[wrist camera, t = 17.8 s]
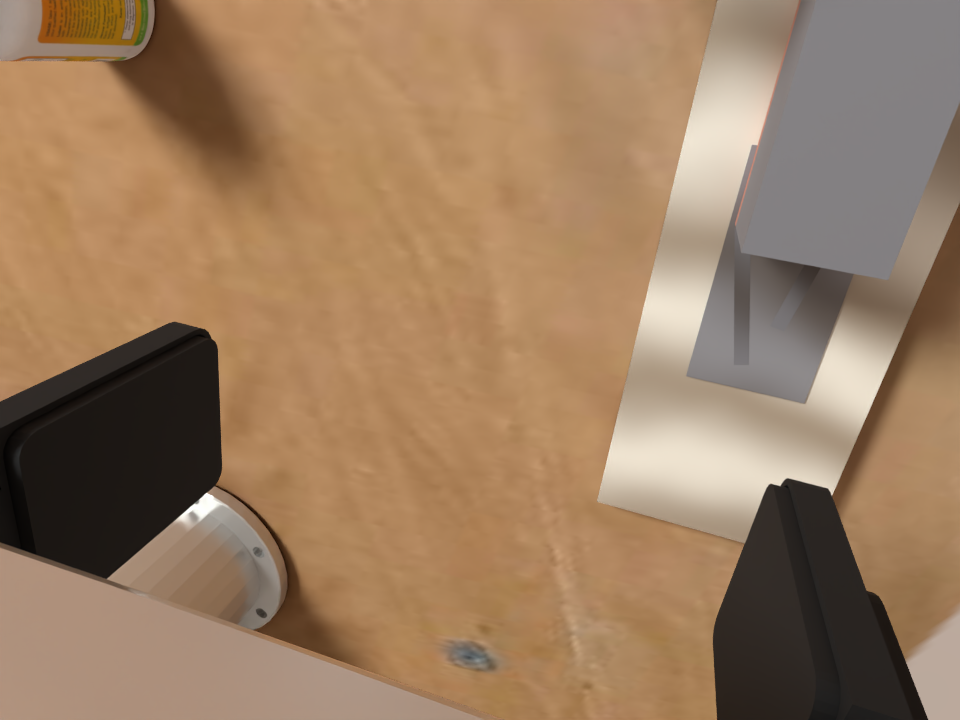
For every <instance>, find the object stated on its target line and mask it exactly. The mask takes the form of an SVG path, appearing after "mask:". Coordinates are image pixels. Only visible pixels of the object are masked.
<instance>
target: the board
mask: <svg viewBox="0 0 960 720" xmlns="http://www.w3.org/2000/svg"><path fill="white" fill-rule="evenodd" d="M798 3H799V0H718V1H717V5H716V9H715V13H714V17H713V21H712V26H711V30H710V34H709V38H708V42H707V46H706V50H705V55H704V59H703V63H702V67H701V71H700V75H699V80H698V84H697V88H696V92H695V96H694V100H693V105H692V109H691V113H690V117H689V121H688V125H687V130H686V134H685V138H684V142H683V146H682V150H681V154H680V159H679V163H678V167H677V171H676V175H675V179H674V184H673V188H672V192H671V196H670V200H669V204H668V209H667V213H666V217H665V221H664V225H663V229H662V234H661V238H660V242H659V246H658V250H657V254H656V258H655V263H654V267H653V271H652V275H651V279H650V283H649V288H648V292H647V296H646V300H645V304H644V308H643V313H642V317H641V321H640V325H639V329H638V333H637V337H636V342H635V346H634V350H633V354H632V358H631V362H630V367H629V371H628V375H627V379H626V383H625V387H624V392H623V396H622V400H621V404H620V408H619V412H618V417H617V421H616V425H615V429H614V433H613V437H612V441H611V446H610V450H609V454H608V458H607V462H606V466H605V471H604V475H603V479H602V483H601V487H600V491H599V496H598V500H597V502H600V503H604V504H607V505H611V506H614V507H618V508H621V509H625V510H628V511H632V512H636V513H639V514H643V515H646V516H650V517H653V518H657V519H660V520H664V521H667V522H671V523H675V524H678V525H682V526H685V527H689V528H692V529H696V530H699V531H703V532H706V533H710V534H714V535H717V536H721V537H724V538H728V539H731V540H735V541H738V542H742V543H745V542H746V539H747V537H748V534H749V532H750V529H751V526H752V524H753V521H754V518H755V516H756V513H757V511H758V508H759V505H760V503H761V500H762V498H763V495H764V492H765V490H766V488H767V487H768V485H769V484H774V485H778V486H781V484H782V483H783V481H784V480H785V479H787V478H789V479H793V480H797V481H801V482H805V483H809V484H813V485H817V486H821V487H825V488H828V489H829V491H830V492H831V495H833V492H834V490H835V488H836V486H837V483H838V481H839V479H840V476H841V474H842V472H843V470H844V467H845V465H846V463H847V460H848V458H849V456H850V453H851V451H852V449H853V447H854V444H855V442H856V440H857V437H858V435H859V433H860V430H861V428H862V426H863V424H864V421H865V419H866V417H867V414H868V412H869V410H870V408H871V405H872V403H873V401H874V398H875V396H876V394H877V391H878V389H879V387H880V385H881V382H882V380H883V378H884V375H885V373H886V371H887V369H888V366H889V364H890V362H891V359H892V357H893V355H894V352H895V350H896V348H897V346H898V343H899V341H900V339H901V336H902V334H903V332H904V329H905V327H906V325H907V323H908V320H909V318H910V316H911V313H912V311H913V309H914V307H915V304H916V302H917V300H918V297H919V295H920V293H921V290H922V288H923V286H924V284H925V281H926V279H927V277H928V274H929V272H930V270H931V268H932V265H933V263H934V261H935V258H936V256H937V254H938V251H939V249H940V247H941V245H942V242H943V240H944V238H945V235H946V233H947V231H948V228H949V226H950V224H951V222H952V219H953V217H954V215H955V212H956V210H957V208H958V206H959V203H960V103H959V105H958V108H957V110H956V113H955V115H954V118H953V120H952V123H951V125H950V128H949V130H948V133H947V135H946V138H945V140H944V143H943V145H942V148H941V150H940V153H939V155H938V158H937V160H936V163H935V165H934V168H933V170H932V173H931V175H930V178H929V180H928V183H927V185H926V187H925V190H924V192H923V195H922V197H921V200H920V202H919V205H918V207H917V210H916V212H915V215H914V217H913V220H912V222H911V225H910V227H909V230H908V232H907V235H906V237H905V240H904V242H903V245H902V247H901V250H900V252H899V255H898V257H897V260H896V262H895V265H894V267H893V270H892V272H891V274H890V277H889V279H888V280H884V279H879V278H873V277H868V276H863V275H858V274H852V273H847V272H842V271H836V270H831V269H826V268H820V267H815V266H810V265H804V264H799V263H794V262H788V261H783V260H778V259H773V258H767V257H762V256H757V255H751V254H746V253H741V249H740V244H739V240H738V235H737V231H736V226H735V222H736V218H737V215H738V211H739V208H740V204H741V201H742V197H743V194H744V190H745V187H746V183H747V180H748V177H749V173H750V170H751V166H752V163H753V159H754V156H755V152H756V149H757V145H758V142H759V138H760V135H761V131H762V128H763V124H764V121H765V117H766V114H767V110H768V107H769V104H770V100H771V97H772V93H773V90H774V86H775V83H776V79H777V76H778V72H779V69H780V65H781V62H782V58H783V55H784V51H785V48H786V44H787V41H788V37H789V34H790V30H791V27H792V24H793V20H794V17H795V13H796V10H797V6H798Z"/></svg>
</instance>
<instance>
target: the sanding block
mask: <svg viewBox="0 0 960 720" xmlns="http://www.w3.org/2000/svg"><path fill="white" fill-rule="evenodd" d="M959 103H960V0H799V3H798V6H797V10H796V13H795V17H794V20H793V24H792V27H791V30H790V34H789V37H788V41H787V44H786V48H785V51H784V55H783V58H782V62H781V65H780V69H779V72H778V76H777V79H776V83H775V86H774V90H773V93H772V97H771V100H770V104H769V107H768V110H767V114H766V117H765V121H764V124H763V128H762V131H761V135H760V138H759V142H758V145H757V149H756V152H755V156H754V159H753V163H752V166H751V170H750V173H749V177H748V180H747V183H746V187H745V190H744V194H743V197H742V201H741V204H740V208H739V211H738V215H737V218H736V222H735V226H736V231H737V235H738V240H739V244H740V249H741V253H746V254H751V255H757V256H762V257H767V258H773V259H778V260H783V261H788V262H794V263H799V264H804V265H810V266H815V267H820V268H826V269H831V270H836V271H842V272H847V273H852V274H858V275H863V276H868V277H873V278H879V279H884V280H888V279H889V277H890V274H891V272H892V270H893V267H894V265H895V262H896V260H897V257H898V255H899V252H900V250H901V247H902V245H903V242H904V240H905V237H906V235H907V232H908V230H909V227H910V225H911V222H912V220H913V217H914V215H915V212H916V210H917V207H918V205H919V202H920V200H921V197H922V195H923V192H924V190H925V187H926V185H927V183H928V180H929V178H930V175H931V173H932V170H933V168H934V165H935V163H936V160H937V158H938V155H939V153H940V150H941V148H942V145H943V143H944V140H945V138H946V135H947V133H948V130H949V128H950V125H951V123H952V120H953V118H954V115H955V113H956V110H957V108H958V105H959Z"/></svg>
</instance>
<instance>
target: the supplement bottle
mask: <svg viewBox="0 0 960 720" xmlns="http://www.w3.org/2000/svg"><path fill="white" fill-rule="evenodd" d="M154 17H155V8H154V0H0V61H122V60H127V59H130V58H133V57H135V56H136V55H138V54H139V53H140V52H141V51H142V50H143V49H144V48H145V46H146V45H147V43H148V41H149V39H150V37H151V34H152V30H153V26H154Z"/></svg>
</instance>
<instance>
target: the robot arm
mask: <svg viewBox="0 0 960 720" xmlns="http://www.w3.org/2000/svg"><path fill="white" fill-rule="evenodd" d="M221 471H222V454H221V427H220V399H219V371H218V349H217V345H216V342H215V341H214V340H212V339H211V336H210V334H209V332H207V331H206V330H205V329H201V328H197V327H193V326H190V325H186V324H182V323H177V322H172V323H168V324H166V325H164V326H162V327H160V328H158V329H156V330H153V331H151V332H149V333H147V334H145V335H143V336H140V337H138V338H136V339H134V340H132V341H130V342H128V343H125V344H123V345H121V346H119V347H117V348H115V349H113V350H110V351H108V352H106V353H104V354H102V355H100V356H97V357H95V358H93V359H91V360H89V361H87V362H85V363H82V364H80V365H78V366H76V367H74V368H72V369H69V370H67V371H65V372H63V373H61V374H59V375H57V376H54V377H52V378H50V379H48V380H46V381H44V382H42V383H39V384H37V385H35V386H33V387H31V388H29V389H26V390H24V391H22V392H20V393H18V394H16V395H14V396H11V397H9V398H7V399H5V400H3V401H1V402H0V720H504V719H501V718H498V717H495V716H492V715H490V714H487V713H484V712H481V711H478V710H476V709H473V708H470V707H467V706H465V705H462V704H459V703H456V702H453V701H451V700H448V699H445V698H442V697H439V696H437V695H434V694H431V693H428V692H425V691H423V690H420V689H417V688H414V687H412V686H409V685H406V684H403V683H400V682H398V681H395V680H392V679H389V678H386V677H384V676H381V675H378V674H375V673H373V672H370V671H367V670H364V669H361V668H359V667H356V666H353V665H350V664H347V663H344V662H342V661H339V660H336V659H333V658H330V657H327V656H325V655H322V654H319V653H316V652H313V651H310V650H308V649H305V648H302V647H299V646H296V645H293V644H291V643H288V642H285V641H282V640H279V639H276V638H274V637H271V636H268V635H265V634H262V633H259V632H257V631H254V630H255V629H258V628H261V627H262V626H263V625H265V624H266V623H268V622H269V621H270V620H271V619H272V618H273V616H274V615H275V614H276V613H277V611H278V610H279V609H280V607H281V605H282V604H283V602H284V600H285V596H286V592H287V572H286V568H285V563H284V560H283V557H282V555H281V552H280V550H279V548H278V545H277V544H276V542H275V540H274V539H273V537H272V536H271V534H270V532H269V531H268V529H267V528H266V527H265V526H264V525H263V523H262V522H261V521H260V520H259V518H258V517H257V516H256V515H255V514H254V513H253V512H251V511H250V510H249V509H248V508H247V507H246V506H245V505H244V504H243V503H241V502H240V501H238V500H237V499H236V498H234V497H233V496H231V495H230V494H228V493H227V492H225V491H223V490H221V489H219V488H217V487H215V485H216V483H217V482H218V480H219V478H220V475H221ZM713 651H714V670H715V688H716V706H717V720H928V718H927V716H926V713H925V711H924V708H923V705H922V703H921V700H920V698H919V695H918V692H917V690H916V687H915V685H914V682H913V680H912V677H911V674H910V672H909V669H908V666H907V664H906V661H905V659H904V656H903V654H902V651H901V648H900V646H899V643H898V641H897V638H896V635H895V633H894V630H893V628H892V625H891V623H890V620H889V617H888V615H887V612H886V610H885V607H884V605H883V603H882V601H881V599H880V598H879V596H877V595H876V594H874V593H872V592H869V591H866V588H865V586H864V583H863V580H862V577H861V575H860V572H859V569H858V566H857V564H856V561H855V558H854V555H853V553H852V550H851V547H850V544H849V542H848V539H847V536H846V533H845V531H844V528H843V525H842V522H841V520H840V517H839V514H838V511H837V509H836V506H835V503H834V500H833V498H832V495H831V492H830V491H829V489H828V488H825V487H821V486H817V485H813V484H809V483H805V482H801V481H797V480H793V479H789V478H787V479H785V480H784V481H783V483H782V484H781V486H778V485H774V484H769V485H768V487H767V488H766V490H765V492H764V495H763V498H762V500H761V503H760V505H759V508H758V511H757V513H756V516H755V518H754V521H753V524H752V526H751V529H750V532H749V534H748V537H747V539H746V542H745V545H744V547H743V550H742V552H741V555H740V558H739V560H738V563H737V566H736V568H735V571H734V573H733V576H732V579H731V581H730V584H729V586H728V589H727V592H726V594H725V597H724V599H723V602H722V605H721V607H720V610H719V613H718V615H717V618H716V622H715V626H714V633H713Z"/></svg>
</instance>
